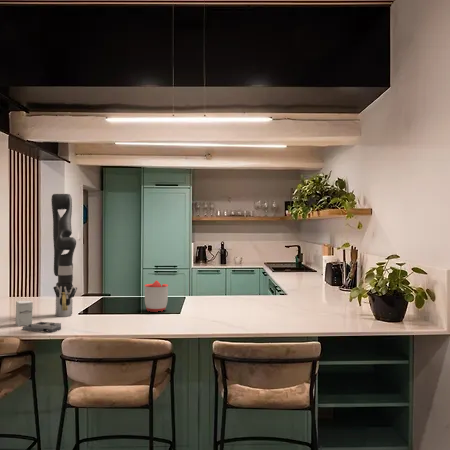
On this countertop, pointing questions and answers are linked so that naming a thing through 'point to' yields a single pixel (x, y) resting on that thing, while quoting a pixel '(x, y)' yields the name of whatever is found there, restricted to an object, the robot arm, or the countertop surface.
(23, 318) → the supplement box
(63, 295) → the pin
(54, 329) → the chain end upper
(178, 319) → the countertop surface
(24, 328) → the chain end lower
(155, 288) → the citrus juicer
